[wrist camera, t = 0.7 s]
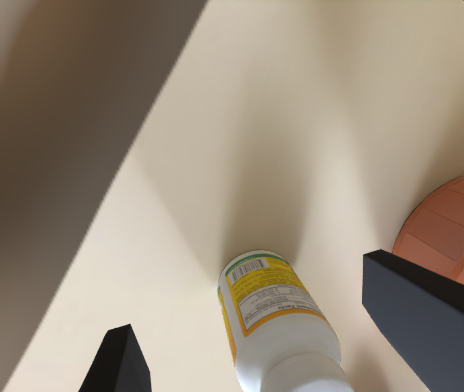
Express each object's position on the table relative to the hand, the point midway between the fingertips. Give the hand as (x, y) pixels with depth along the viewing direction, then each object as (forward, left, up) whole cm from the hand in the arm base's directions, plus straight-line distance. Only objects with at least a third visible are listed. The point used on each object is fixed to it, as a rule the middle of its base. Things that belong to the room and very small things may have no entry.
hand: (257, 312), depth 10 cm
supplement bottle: (-7, -1, -11) cm, 13 cm away
